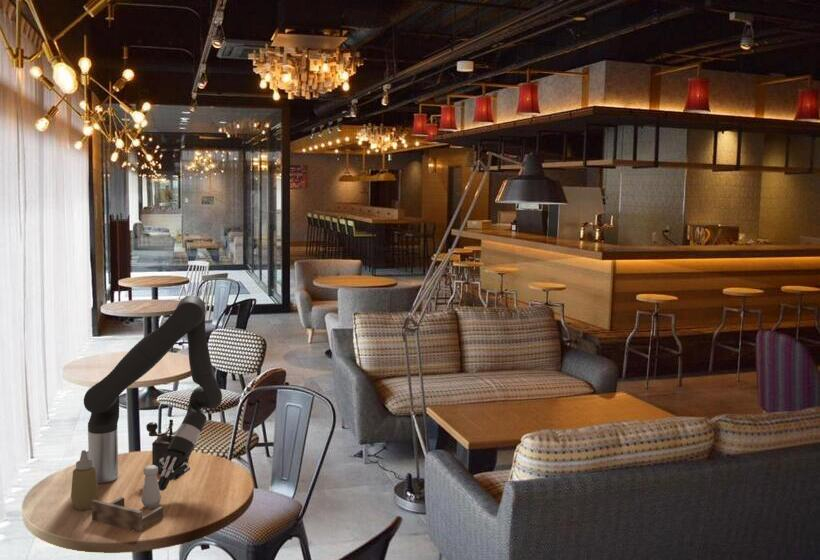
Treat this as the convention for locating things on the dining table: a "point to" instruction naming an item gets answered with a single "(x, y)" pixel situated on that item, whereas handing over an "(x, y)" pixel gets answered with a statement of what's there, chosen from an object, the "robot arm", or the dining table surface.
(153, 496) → the salt shaker
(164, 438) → the manual coffee grinder
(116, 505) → the walnut bay
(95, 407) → the robot arm
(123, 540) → the dining table surface
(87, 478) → the squeeze bottle
